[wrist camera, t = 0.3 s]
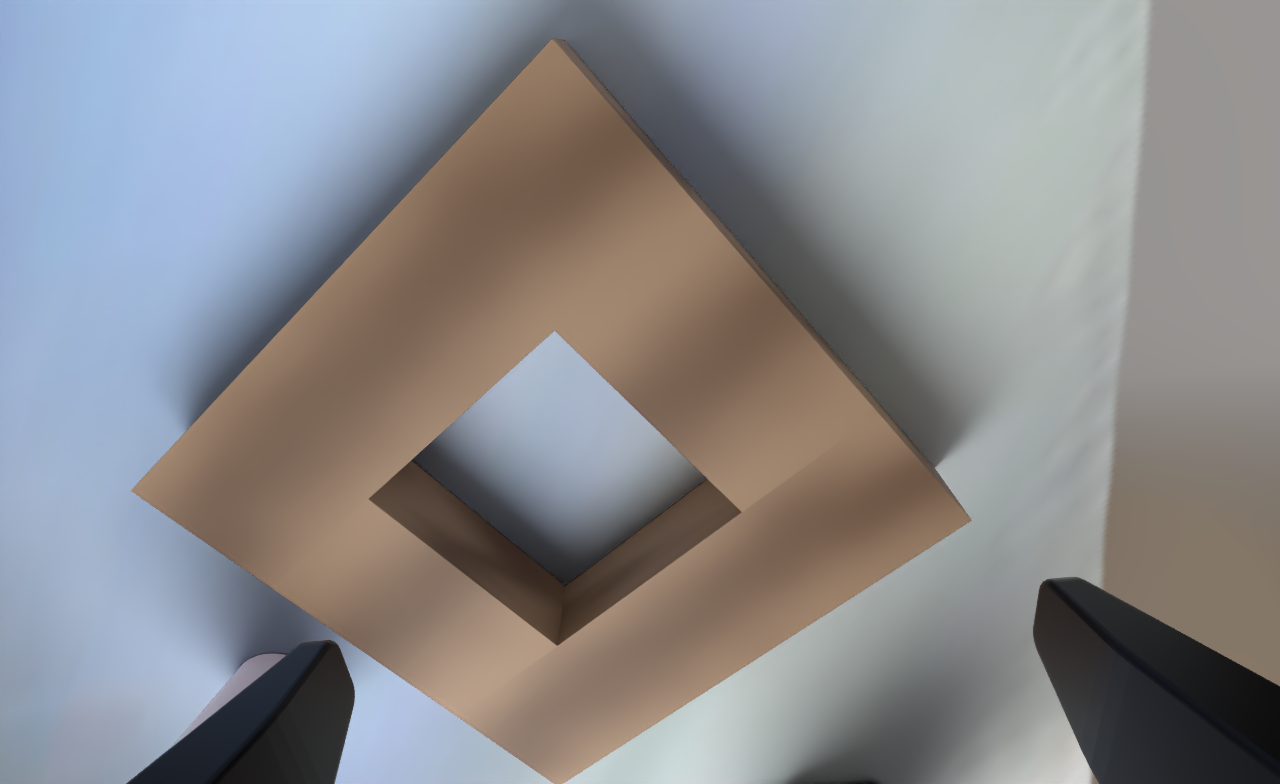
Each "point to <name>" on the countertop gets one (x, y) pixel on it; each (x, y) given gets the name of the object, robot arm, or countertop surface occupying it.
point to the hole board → (630, 362)
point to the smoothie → (236, 685)
